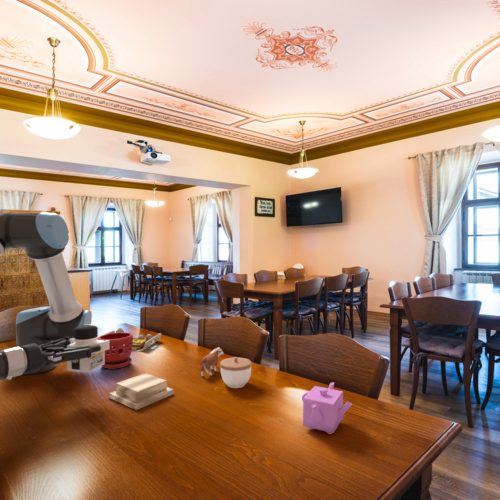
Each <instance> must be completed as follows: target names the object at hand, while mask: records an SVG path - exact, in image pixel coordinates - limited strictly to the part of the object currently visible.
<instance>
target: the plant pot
mask: <svg viewBox="0 0 500 500" xmlns="http://www.w3.org/2000/svg"><path fill="white" fill-rule="evenodd" d="M104 334H105V335H104ZM104 334H103V335H100V336H98V340H104V341H106V340H109V345H110V349H108V350H105V364H104V365H102V366H101V367H102V368H104V369H111V370H113V369H114V370H115V369H121V368H125V367H127V366H128V365H130V364H131V362H132V360H133V359H132V357H131V354H132V347H133V338H134V337H133V336H134V335H133V333H132V332H125V331H124V332H119V333H116V332H115V333H110V334H106V333H104ZM123 345H125V346H123ZM112 347H113V348H112Z"/></svg>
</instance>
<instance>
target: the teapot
mask: <svg viewBox="0 0 500 500" xmlns="http://www.w3.org/2000/svg"><path fill="white" fill-rule="evenodd" d="M334 386H335V382H333V381H332V382H330V383H329V386H328V388H327V387H323V386H318V385H317V386H316V385H314V386H313V388H311V390H309V391H305V392H304V393H303V394H302V396H301V400H302V426H303V427H306V428H308V427H309V428H310V429H315V430H318V431H323V432H325V433H326V432H327V433H334V434H335V432H336V430H337V429H338V427H339V425H340V423H341V422H342V420H343V418H344V414H345V413H346V412H347V411H348V410H349V409H350V407H352V405H353V404H352V403H351V402H349V401H347V402H346V403H344V391H343V390H337V389H334ZM310 429H309V430H310ZM327 433H326V434H327Z"/></svg>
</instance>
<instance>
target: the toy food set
mask: <svg viewBox="0 0 500 500" xmlns="http://www.w3.org/2000/svg"><path fill="white" fill-rule="evenodd" d="M119 332H125V330H124V328H123V327H119V328H117V329H116V331H115V330H111V331H109V332H106V333H104V334H103V335H105V334H110V333H119ZM161 336H162V333H161V332H160V333H158V334H156V335H154V336H153V335H152V334H150V333H149V334H147V335H146V337H144V335H143V334H140V335H138V336H137V337H138V338H135V337H133V347H132V352H137V353H141V352H143V351H145V350H146V349H148V348H149V347H151V346H153V345H154V344H156V342H158V341H159V340H160V339H161ZM97 340H98V339H97ZM123 346H125V345H123ZM112 348H113V347H112ZM132 352H131V353H132Z"/></svg>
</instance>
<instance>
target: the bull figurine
mask: <svg viewBox="0 0 500 500" xmlns="http://www.w3.org/2000/svg"><path fill="white" fill-rule="evenodd" d="M221 355H224V351H223V349H222V348H220V347H215V348H213V350H212V351H210V352H209V353H208V354H207V355H204V357H202V359H200V365H201V369H200V373H201V375H200V377H204V371H205V372H206V374H208V375H209V376H213V373H212V372H211V370H213V371H214V372H218V370H217V366H218V363H219V357H220V356H221ZM213 366H214V368H213Z"/></svg>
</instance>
